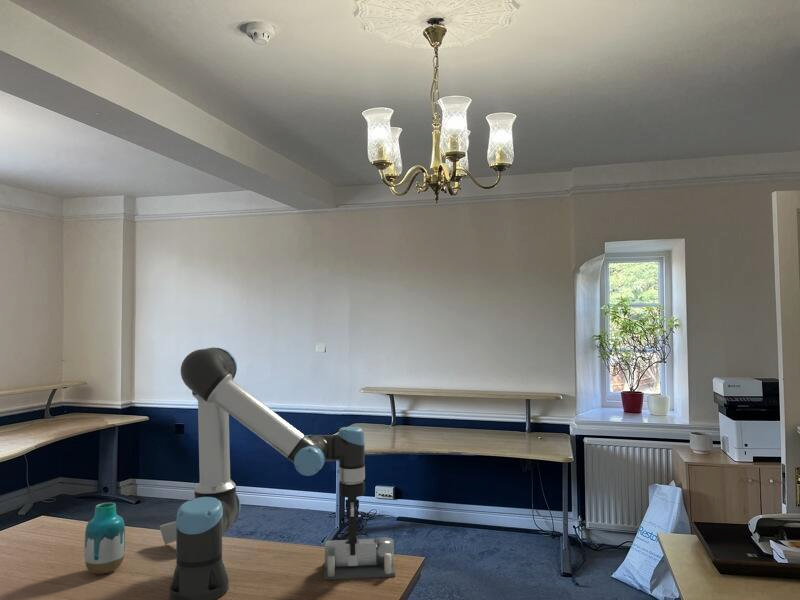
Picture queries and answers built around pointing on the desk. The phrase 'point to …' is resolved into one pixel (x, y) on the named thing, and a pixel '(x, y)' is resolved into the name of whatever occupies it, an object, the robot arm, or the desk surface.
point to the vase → (104, 540)
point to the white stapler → (168, 532)
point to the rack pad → (359, 570)
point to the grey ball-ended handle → (361, 551)
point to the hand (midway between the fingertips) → (352, 561)
